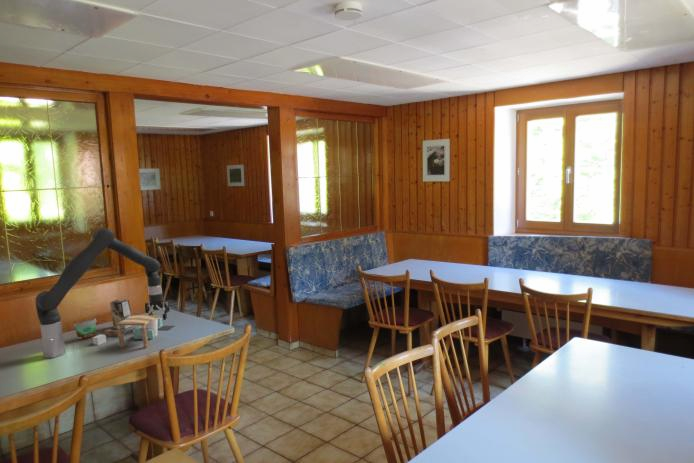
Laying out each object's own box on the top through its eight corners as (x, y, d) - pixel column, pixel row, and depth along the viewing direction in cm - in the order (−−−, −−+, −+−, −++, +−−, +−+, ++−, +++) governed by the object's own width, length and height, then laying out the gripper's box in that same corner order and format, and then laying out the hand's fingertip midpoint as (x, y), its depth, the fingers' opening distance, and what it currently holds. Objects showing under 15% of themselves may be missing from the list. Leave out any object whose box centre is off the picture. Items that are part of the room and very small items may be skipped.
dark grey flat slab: (168, 330, 284) (168, 329, 284) (157, 330, 286) (157, 329, 286) (174, 326, 291) (174, 325, 291) (163, 326, 292) (163, 325, 292)
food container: (80, 342, 273) (78, 324, 272) (75, 340, 277) (73, 323, 276) (102, 335, 283) (100, 318, 281) (97, 333, 286) (95, 317, 285)
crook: (153, 339, 270) (152, 330, 269) (134, 338, 273) (133, 330, 272) (176, 326, 291) (175, 317, 291) (158, 325, 294) (157, 317, 294)
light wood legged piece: (147, 347, 256) (144, 323, 255) (119, 347, 259) (116, 323, 258) (162, 338, 270) (159, 315, 269) (136, 338, 273) (133, 315, 272)
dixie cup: (155, 338, 271) (153, 320, 270) (141, 338, 272) (138, 320, 271) (162, 333, 280) (160, 315, 278) (148, 333, 281) (146, 316, 279)
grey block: (98, 345, 266) (97, 338, 266) (93, 344, 268) (92, 337, 268) (106, 342, 271) (105, 335, 270) (101, 341, 273) (100, 334, 272)
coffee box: (133, 325, 298) (129, 299, 296) (125, 328, 292) (122, 302, 290) (120, 325, 301) (117, 299, 299) (112, 328, 295) (109, 302, 293)
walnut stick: (124, 335, 281) (124, 330, 281) (121, 336, 279) (120, 331, 278) (108, 334, 285) (107, 329, 285) (105, 335, 283) (104, 330, 282)
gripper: (140, 294, 288) (143, 321, 290) (162, 294, 285) (165, 321, 287) (148, 291, 295) (151, 317, 297) (169, 291, 293) (172, 317, 294)
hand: (158, 319), depth 292 cm, fingers open, 8 cm apart
